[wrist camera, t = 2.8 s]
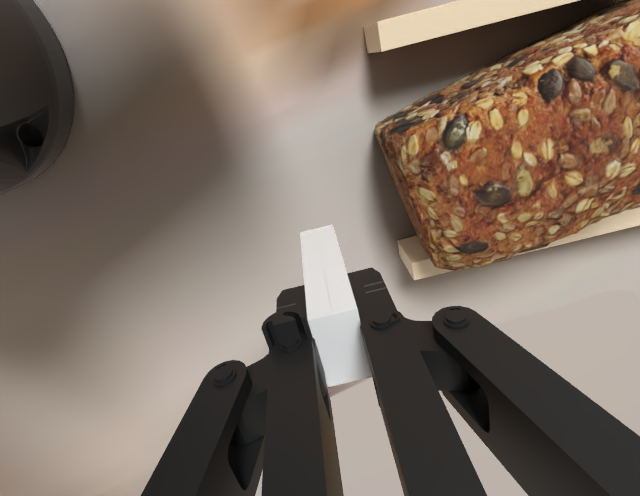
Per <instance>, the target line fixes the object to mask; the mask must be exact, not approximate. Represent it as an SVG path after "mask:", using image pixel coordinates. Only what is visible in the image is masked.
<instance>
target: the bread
mask: <svg viewBox="0 0 640 496" xmlns="http://www.w3.org/2000/svg"><path fill="white" fill-rule="evenodd" d="M374 133H375V136H376V138H377V140H378V142H379V145H380V147H381V149H382V151H383V154H384V157H385V160H386V163H387V166H388V169H389V171H390V174H391V176H392V179H393V181H394V184H395V186H396V188H397V191H398V193H399V196H400V198H401V200H402V202H403V205H404V207H405V210H406V212H407V215H408V217H409V219H410V221H411V223H412V225H413V227H414V229H415V231H416V234H417V236H418V239H419V241H420V243H421V245H422V246H423V249H424V250H425V252H426V253H427V255H428V256H429V258H430V260H431V261H432V263H433V264H434V266H435V267H437V268H441V269H446V270H458V269H467V268H470V267H481V266H486V264H489V263H492V262H497V261H502V260H507V259H510V258H511V257H512V256H513V255H515V254H517V253H522V252H527V251H531V250H535V249H539V248H543V247H547V246H548V245H549V244H550V243H551V242H553V241H556V240H559V239H562V238H564V237H566V236H569V235H572V234H577V233H578V232H579V231H580V230H582V229H584V228H585V227H587V226H589V225H590V224H593V223H597V222H598V221H600V220H601V219H603V218H606V217H609V216H612V215H616V214H620V213H621V212H623V211H624V210H632V209H635V208H638V207H640V0H624V1H621V2H619V3H616V4H614V5H611V6H609V7H607V8H604V9H602V10H600V11H598V12H596V13H594V14H592V15H590V16H588V17H586V18H583V19H581V20H579V21H578V22H576V23H574V24H572V25H571V26H569V27H567V28H566V29H564V30H562V31H559V32H557V33H554V34H552V35H550V36H547V37H545V38H543V39H541V40H539V41H536V42H533V43H531V44H529V45H528V46H527V47H525V48H523V49H521V50H518V51H516V52H514V53H512V54H509V55H507V56H505V57H503V58H502V59H501V60H499V61H496V62H494V63H491V64H489V65H487V66H485V67H483V68H481V69H479V70H477V71H475V72H473V73H471V74H469V75H467V76H465V77H463V78H461V79H459V80H457V81H455V82H453V83H451V84H449V85H448V86H447V87H446V88H444V89H442V90H440V91H437V92H433V93H431V94H429V95H428V96H426V97H424V98H422V99H420V100H418V101H416V102H414V104H413V105H412V106H408V107H405V108H404V109H402V110H401V111H399V112H398V113H396V114H394V115H391V116H389V117H387V118H385V119H384V120H383V121H381V122H378V123H376V126H375V129H374Z"/></svg>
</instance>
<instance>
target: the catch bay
mask: <svg viewBox="0 0 640 496" xmlns="http://www.w3.org/2000/svg"><path fill="white" fill-rule="evenodd" d="M575 1H579V0H459V1H455V2H451V3H447V4H443V5H439V6H436V7H432V8H428V9H424V10H420V11H416V12H413V13H409V14H405V15H401V16H397V17H394V18H390V19H386V20H382V21H378V22H376V23H373V24H371V25H368V26H366V27H364V33H365V40H366V46H367V52H368V53H374V52H383V51H386V50H390V49H394V48H398V47H402V46H406V45H410V44H413V43H417V42H421V41H425V40H429V39H433V38H437V37H440V36H444V35H448V34H452V33H456V32H460V31H463V30H467V29H471V28H475V27H479V26H483V25H487V24H490V23H494V22H498V21H502V20H506V19H510V18H514V17H517V16H521V15H525V14H529V13H533V12H537V11H540V10H544V9H548V8H552V7H556V6H560V5H564V4H567V3H571V2H575ZM639 225H640V207H638V208H635V209H632V210H624V211H623V212H621V213H620V214H616V215H612V216H609V217H606V218H603V219H601V220H600V221H598V222H597V223H593V224H590V225H589V226H587V227H585V228H584V229H582V230H580V231H579V232H578V233H577V234H572V235H569V236H566V237H564V238H562V239H559V240H556V241H553V242H551V243H550V244H549V245H548V246H547V247H543V248H539V249H535V250H531V251H527V252H522V253H517V254H515V255H513V256H516V255H520V254H524V253H528V252H533V251H537V250H541V249H545V248H549V247H553V246H557V245H561V244H565V243H569V242H573V241H577V240H581V239H586V238H590V237H594V236H598V235H602V234H606V233H610V232H614V231H618V230H622V229H626V228H630V227H635V226H639ZM397 243H398V249H399V256H400V258H401V259H402V261H403V263H404V264H405V266H406V268H407V269H408V271H409V273H410V274H411V276H412V278H413V279H414V280H418V279H422V278H426V277H430V276H435V275H439V274H443V273H447V272H451V271H455V270H446V269H441V268H437V267H435V266H434V264H433V263H432V261H431V260H430V258H429V256H428V255H427V253H426V252H425V250H424V249H423V246H422V245H421V243H420V241H419V239H418V236H417V235H416V236H412V237H408V238H404V239H400V240H397ZM458 270H459V269H458Z"/></svg>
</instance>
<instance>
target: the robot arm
mask: <svg viewBox="0 0 640 496" xmlns="http://www.w3.org/2000/svg"><path fill="white" fill-rule="evenodd" d="M72 119H73V89H72V82H71V77H70V73H69V69H68V66H67V62H66V59H65V56H64V54H63V51H62V49H61V46H60V44H59V42H58V40H57V38H56V36H55V34H54V32H53V30H52V28H51V26H50V25H49V23H48V21H47V20H46V18H45V17H44V15H43V14H42V12H41V11H40V9H39V8H38V6H37V5H36V4H35V2H34V1H33V0H0V193H3V192H6V191H8V190H11V189H13V188H15V187H17V186H19V185H21V184H24V183H26V182H28V181H30V180H32V179H34V178H35V177H37V176H38V175H40V174H41V173H43V172H44V171H45V170H46V169H47V168H48V167H49V166H51V164H52V163H53V162H54V161H55V160H56V159H57V157H58V156H59V154H60V153H61V151H62V149H63V148H64V146H65V143H66V141H67V139H68V136H69V133H70V129H71V125H72ZM300 239H301V251H302V263H303V274H304V285H303V286H298V287H294V288H290V289H286V290H282V292H281V293H280V295H279V297H278V298H277V311H276V313H274V314H272V315H271V316H269V317H268V318H267V319H266V320H265V321H264V322H263V325H262V331H263V334H264V336H265V339H266V342H267V344H268V347H269V354H268V355H266V356H265V357H264V358H263V359H261V360H259V361H258V362H256V363H254V364H252V365H250V366H247V367H246V366H245V364H244V363H242V362H241V361H236V360H231V361H226V362H223V363H221V364H219V365H217V366H215V367H214V368H213V369H212V370H210V371H209V372H208V374H207V375H206V376H205V378H204V379H203V381H202V383H201V385H200V387H199V388H198V390H197V392H196V394H195V396H194V398H193V400H192V401H191V403H190V405H189V407H188V409H187V411H186V413H185V414H184V416H183V418H182V420H181V422H180V424H179V426H178V427H177V429H176V431H175V433H174V435H173V437H172V439H171V441H170V442H169V444H168V446H167V448H166V450H165V452H164V454H163V455H162V457H161V459H160V461H159V463H158V465H157V467H156V468H155V470H154V472H153V474H152V476H151V478H150V480H149V481H148V483H147V485H146V487H145V489H144V491H143V493H142V494H141V496H255V494H256V490H257V487H258V483H259V479H260V476H261V472H262V469H263V479H262V496H343V488H342V481H341V475H340V467H339V459H338V453H337V445H336V437H335V430H334V423H333V416H332V408H331V401H330V397H329V394H328V391H327V386H328V387H331V386H335V385H340V384H344V383H348V382H352V381H356V380H361V379H365V378H369V377H373V381H374V385H375V390H376V394H377V398H378V402H379V406H380V408H381V411H382V415H383V419H384V422H385V426H386V430H387V433H388V437H389V441H390V445H391V448H392V452H393V456H394V459H395V463H396V466H397V470H398V474H399V478H400V481H401V485H402V488H403V492H404V496H487V495H486V493H485V490H484V488H483V486H482V484H481V482H480V479H479V477H478V475H477V473H476V471H475V469H474V467H473V465H472V462H471V460H470V458H469V456H468V454H467V452H466V449H465V447H464V445H463V443H462V441H461V439H460V436H459V434H458V432H457V430H456V428H455V426H454V424H453V421H452V419H451V417H450V415H449V413H448V411H447V409H446V406H445V404H444V402H443V400H442V398H441V396H440V394H439V391H438V390H441V391H442V393H443V395H444V396H445V397H446V399H447V400H448V401H449V402H450V403H451V404H452V406H453V407H454V408H455V409H456V410H457V412H458V413H459V414H460V415H461V416H462V417H463V419H464V420H465V421H466V422H467V423H468V425H469V426H470V427H471V428H472V429H473V430H474V432H475V433H476V434H477V435H478V436H479V438H480V439H481V440H482V441H483V442H484V444H485V445H486V446H487V447H488V448H489V449H490V451H491V452H492V453H493V454H494V455H495V457H496V458H497V459H498V460H499V461H500V462H501V464H502V465H503V466H504V467H505V468H506V470H507V471H508V472H509V473H510V474H511V475H512V476H513V478H514V479H515V480H516V481H517V482H518V484H519V485H520V486H521V487H522V488H523V490H524V491H525V492H526V493H527V494H528V495H529V496H640V436H638V435H637V434H636V433H635V432H633V431H632V430H631V429H629V428H628V427H627V426H625V425H624V424H622V423H621V422H620V421H619V420H617V419H616V418H615V417H613V416H612V415H611V414H609V413H608V412H607V411H606V410H604V409H603V408H602V407H600V406H599V405H598V404H596V403H595V402H594V401H592V400H591V399H590V398H588V397H587V396H586V395H584V394H583V393H582V392H581V391H579V390H578V389H577V388H575V387H574V386H572V385H571V384H570V383H569V382H568V381H566V380H565V379H564V378H562V377H561V376H560V375H558V374H557V373H556V372H554V371H553V370H552V369H550V368H549V367H548V366H547V365H545V364H544V363H543V362H541V361H540V360H538V359H537V358H536V357H535V356H533V355H532V354H531V353H529V352H528V351H527V350H525V349H524V348H523V347H522V346H520V345H519V344H518V343H516V342H515V341H514V340H512V339H511V338H510V337H508V336H507V335H506V334H504V333H503V332H502V331H500V330H499V329H498V328H497V327H495V326H494V325H493V324H491V323H490V322H489V321H487V320H486V319H485V318H483V317H482V316H481V315H480V314H478V313H477V312H475V311H474V310H472V309H470V308H466V307H462V306H450V307H446V308H443V309H441V310H439V311H438V312H436V313H435V315H434V316H433V317H432V321H414V320H410V319H407V318H405V317H404V316H403V315H402V314H401V313H400V312H398V311H397V309H396V307H395V305H394V303H393V301H392V298H391V296H390V294H389V292H388V290H387V288H386V285H385V283H384V281H383V279H382V276H381V274H380V273H379V272H378V271H376V270H375V269H373V268H368V269H364V270H360V271H356V272H352V273H348V274H347V271H346V268H345V265H344V261H343V258H342V255H341V251H340V248H339V244H338V241H337V238H336V234H335V231H334V227H333V224H332V225H328V226H324V227H320V228H316V229H312V230H308V231H304V232H300ZM326 383H327V386H326Z"/></svg>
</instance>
